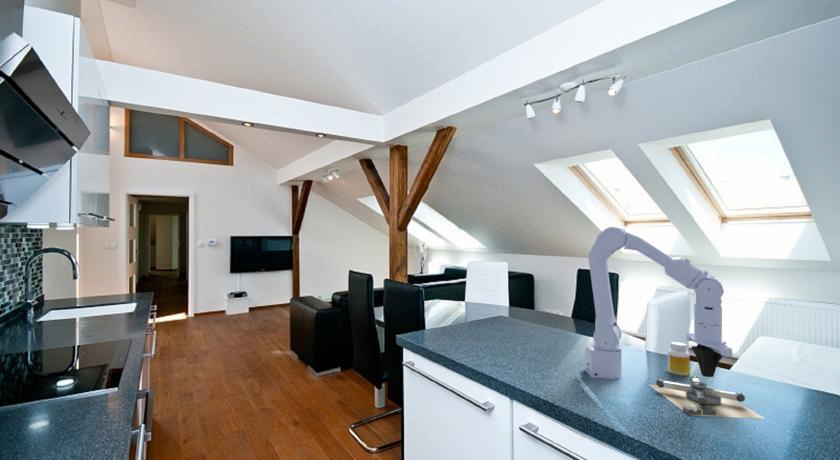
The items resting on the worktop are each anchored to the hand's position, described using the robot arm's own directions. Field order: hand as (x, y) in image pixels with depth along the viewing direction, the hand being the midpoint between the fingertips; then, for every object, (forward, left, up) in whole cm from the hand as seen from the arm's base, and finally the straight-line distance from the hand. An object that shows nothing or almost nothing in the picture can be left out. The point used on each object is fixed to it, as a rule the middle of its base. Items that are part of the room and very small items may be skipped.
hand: (707, 376), depth 99 cm
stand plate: (-4, -5, -6) cm, 8 cm away
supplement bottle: (+2, +15, -6) cm, 17 cm away
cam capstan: (-4, -4, -4) cm, 7 cm away
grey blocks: (-9, -12, -4) cm, 16 cm away
